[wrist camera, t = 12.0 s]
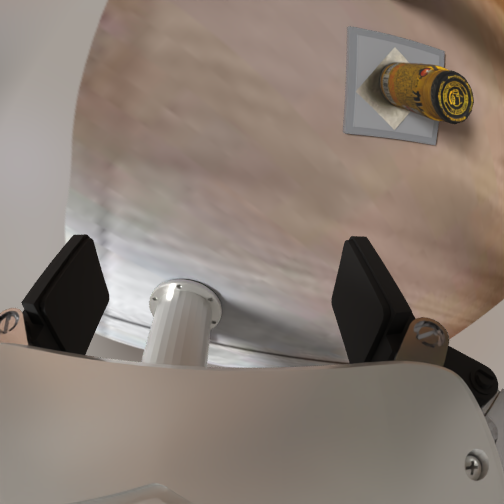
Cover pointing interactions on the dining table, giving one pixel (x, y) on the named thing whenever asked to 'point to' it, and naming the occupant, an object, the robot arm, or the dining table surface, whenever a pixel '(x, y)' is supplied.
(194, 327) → the robot arm
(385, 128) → the plate
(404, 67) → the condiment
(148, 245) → the dining table surface
